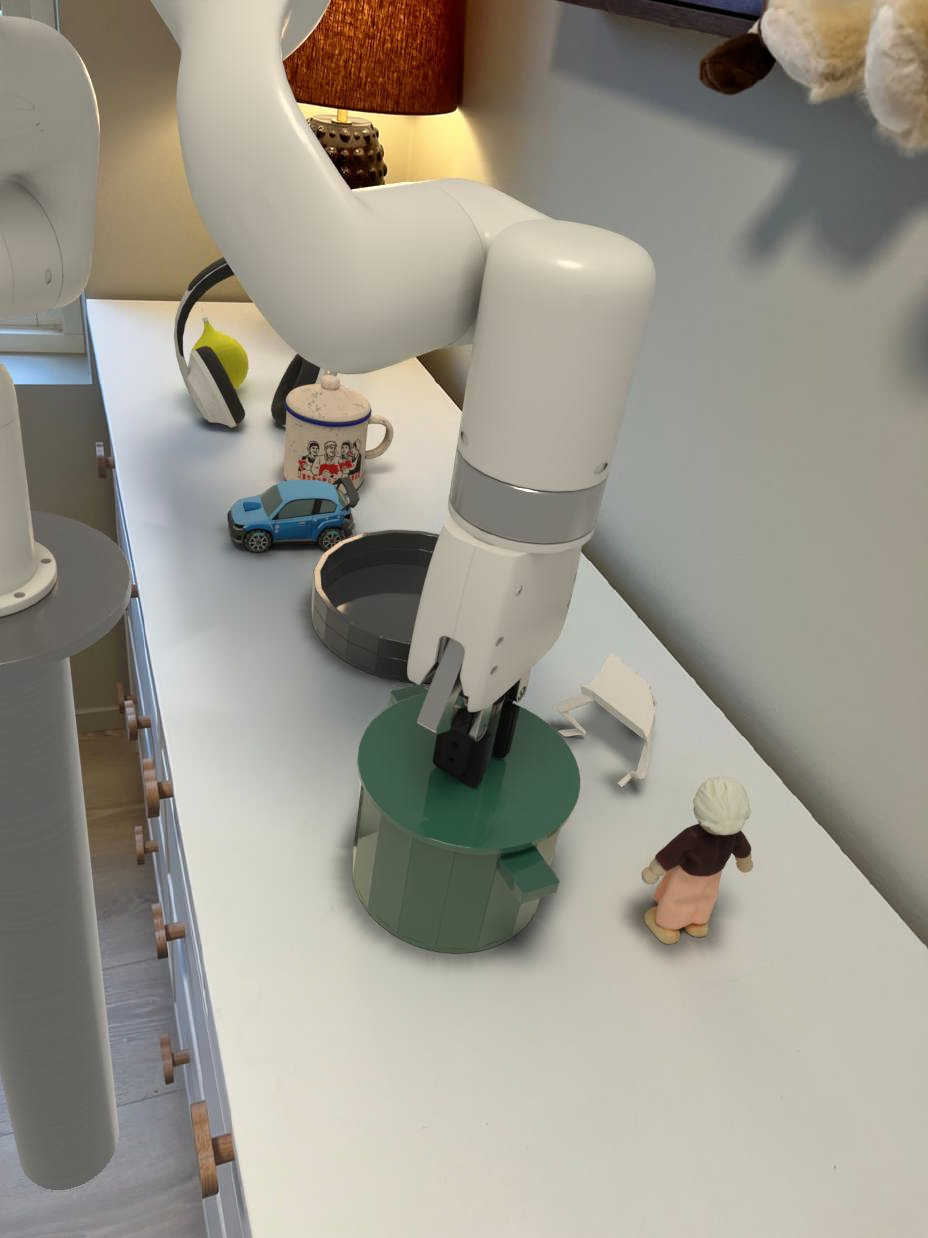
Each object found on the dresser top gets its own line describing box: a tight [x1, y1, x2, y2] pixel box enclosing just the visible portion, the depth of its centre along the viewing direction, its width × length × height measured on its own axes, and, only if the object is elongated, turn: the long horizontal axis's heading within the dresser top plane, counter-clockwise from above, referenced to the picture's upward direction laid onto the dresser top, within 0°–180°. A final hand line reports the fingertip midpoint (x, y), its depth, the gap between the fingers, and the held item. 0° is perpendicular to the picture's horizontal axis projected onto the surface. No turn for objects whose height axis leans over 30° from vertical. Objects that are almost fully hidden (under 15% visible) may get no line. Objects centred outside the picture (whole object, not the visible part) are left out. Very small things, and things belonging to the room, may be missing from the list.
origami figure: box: [551, 651, 658, 788], centre depth 76 cm, size 12×8×5 cm
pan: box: [310, 529, 440, 684], centre depth 87 cm, size 18×18×4 cm
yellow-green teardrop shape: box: [190, 306, 249, 390], centre depth 119 cm, size 7×7×10 cm
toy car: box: [226, 476, 361, 554], centre depth 94 cm, size 6×12×6 cm, turn 108°
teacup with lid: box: [283, 375, 394, 495], centre depth 104 cm, size 12×9×12 cm
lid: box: [356, 693, 581, 855], centre depth 58 cm, size 14×14×7 cm
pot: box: [352, 683, 562, 954], centre depth 62 cm, size 13×18×10 cm
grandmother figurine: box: [640, 776, 754, 945], centre depth 60 cm, size 8×4×13 cm, turn 118°
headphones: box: [173, 256, 338, 428], centre depth 111 cm, size 19×8×20 cm, turn 110°
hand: (471, 758), depth 59 cm, fingers closed on lid, 2 cm apart
